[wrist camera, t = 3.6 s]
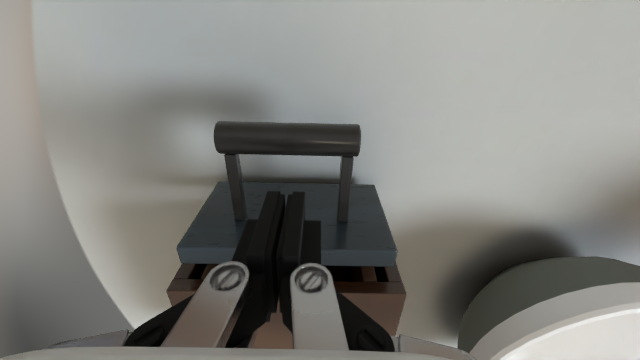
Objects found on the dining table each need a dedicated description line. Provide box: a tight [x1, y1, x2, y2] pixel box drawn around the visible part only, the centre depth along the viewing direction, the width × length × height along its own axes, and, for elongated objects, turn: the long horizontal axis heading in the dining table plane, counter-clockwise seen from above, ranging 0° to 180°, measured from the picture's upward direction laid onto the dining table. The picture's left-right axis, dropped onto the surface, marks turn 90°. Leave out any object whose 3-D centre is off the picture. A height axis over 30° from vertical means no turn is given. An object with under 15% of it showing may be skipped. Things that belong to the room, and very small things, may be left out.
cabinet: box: [166, 261, 406, 349], centre depth 21 cm, size 15×13×9 cm
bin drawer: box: [177, 121, 397, 282], centre depth 19 cm, size 19×11×7 cm, turn 179°
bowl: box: [458, 257, 640, 360], centre depth 23 cm, size 19×19×8 cm
